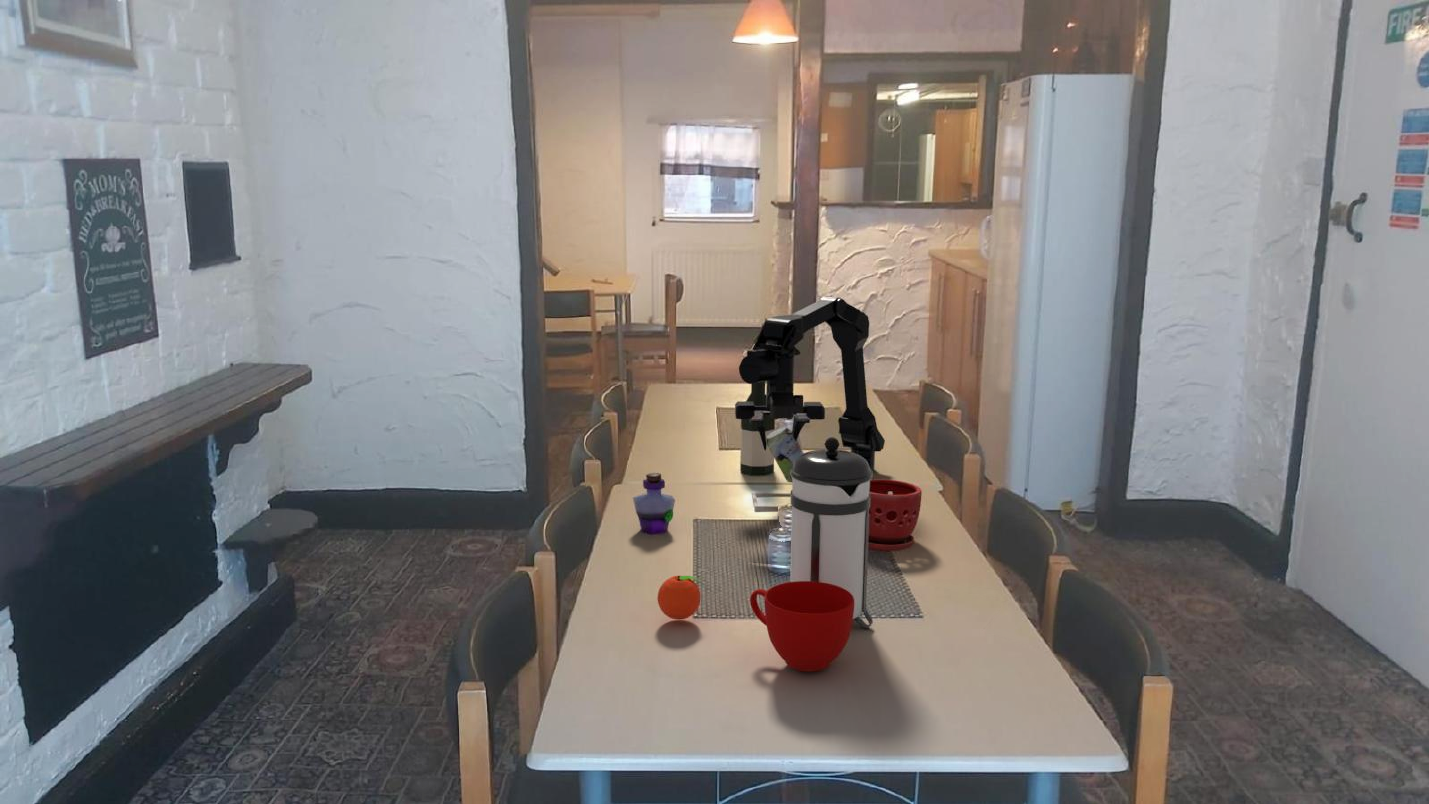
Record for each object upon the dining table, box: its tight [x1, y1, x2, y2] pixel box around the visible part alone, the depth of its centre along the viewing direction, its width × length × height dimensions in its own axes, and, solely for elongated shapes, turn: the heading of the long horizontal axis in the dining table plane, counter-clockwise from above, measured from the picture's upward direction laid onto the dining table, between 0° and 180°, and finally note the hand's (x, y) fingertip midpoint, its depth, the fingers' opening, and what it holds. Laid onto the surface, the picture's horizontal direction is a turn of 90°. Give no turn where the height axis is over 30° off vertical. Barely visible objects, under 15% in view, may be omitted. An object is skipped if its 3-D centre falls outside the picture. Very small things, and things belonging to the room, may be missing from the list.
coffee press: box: [789, 436, 874, 630], centre depth 172 cm, size 17×16×30 cm
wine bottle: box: [739, 381, 776, 477], centre depth 253 cm, size 8×8×30 cm
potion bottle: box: [632, 472, 676, 535], centre depth 215 cm, size 9×9×12 cm
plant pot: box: [868, 478, 923, 552], centre depth 209 cm, size 13×13×12 cm
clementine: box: [657, 575, 706, 620], centre depth 173 cm, size 8×7×7 cm
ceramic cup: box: [749, 581, 854, 672], centre depth 158 cm, size 13×17×10 cm
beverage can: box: [766, 425, 805, 483], centre depth 231 cm, size 6×7×12 cm
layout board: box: [751, 492, 893, 512], centre depth 233 cm, size 12×33×2 cm, turn 91°
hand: (778, 450), depth 230 cm, fingers closed on beverage can, 5 cm apart
